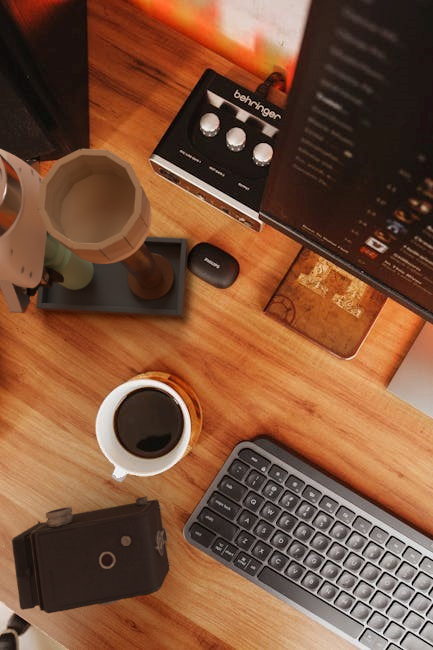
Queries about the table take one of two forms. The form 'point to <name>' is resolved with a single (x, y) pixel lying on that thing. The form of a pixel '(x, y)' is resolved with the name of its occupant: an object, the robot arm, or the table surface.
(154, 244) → the tray
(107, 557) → the camera
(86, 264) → the bottle
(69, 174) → the goblet
